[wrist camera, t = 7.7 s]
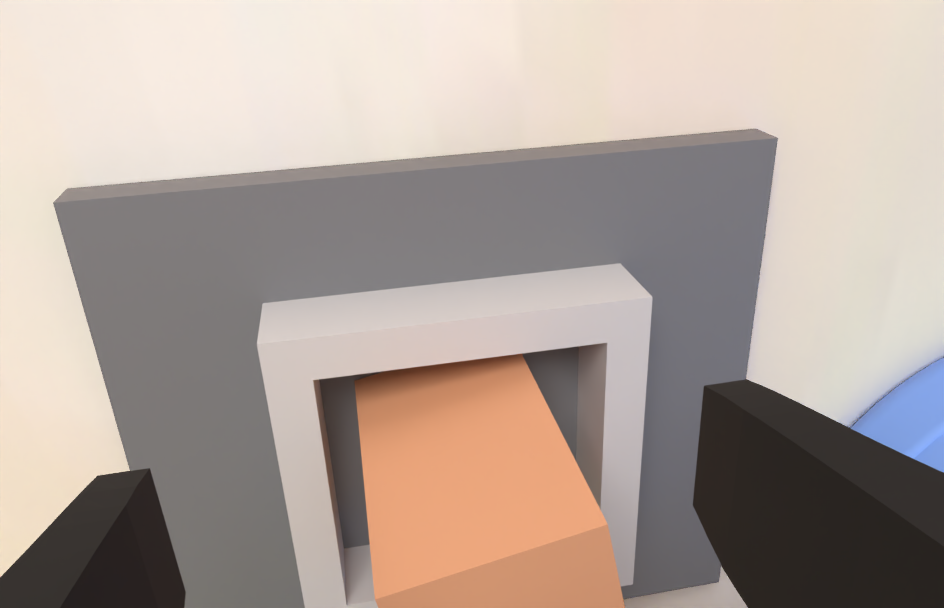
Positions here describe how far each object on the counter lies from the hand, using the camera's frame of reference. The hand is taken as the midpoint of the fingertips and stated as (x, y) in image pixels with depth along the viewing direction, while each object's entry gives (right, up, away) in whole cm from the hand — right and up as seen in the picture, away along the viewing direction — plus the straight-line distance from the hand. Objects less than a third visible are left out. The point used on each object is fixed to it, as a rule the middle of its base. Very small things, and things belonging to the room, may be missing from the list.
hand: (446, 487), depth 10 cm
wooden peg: (0, -1, +10) cm, 10 cm away
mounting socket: (0, 0, +11) cm, 11 cm away
